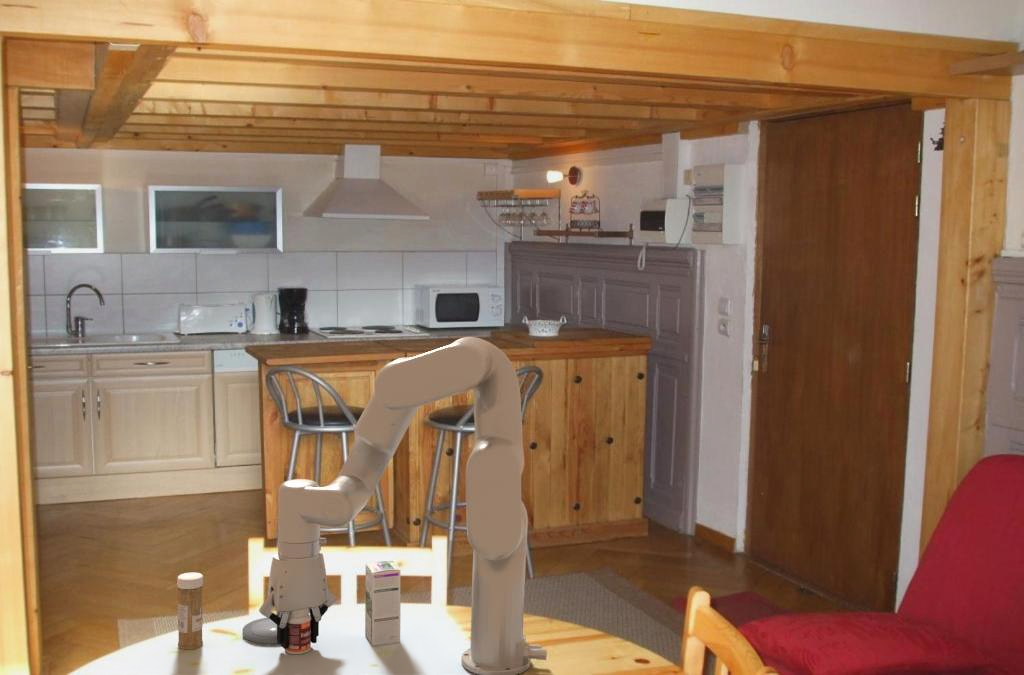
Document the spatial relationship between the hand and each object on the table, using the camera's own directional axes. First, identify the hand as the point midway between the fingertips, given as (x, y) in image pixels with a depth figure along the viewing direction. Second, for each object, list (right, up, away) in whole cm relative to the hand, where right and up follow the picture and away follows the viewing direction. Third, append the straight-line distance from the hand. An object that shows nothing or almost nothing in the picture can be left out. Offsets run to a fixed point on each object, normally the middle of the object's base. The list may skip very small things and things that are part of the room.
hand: (297, 642), depth 191 cm
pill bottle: (0, -2, 0) cm, 2 cm away
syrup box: (+15, -1, +6) cm, 16 cm away
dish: (-6, 0, +8) cm, 10 cm away
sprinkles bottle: (-20, -1, +1) cm, 20 cm away
